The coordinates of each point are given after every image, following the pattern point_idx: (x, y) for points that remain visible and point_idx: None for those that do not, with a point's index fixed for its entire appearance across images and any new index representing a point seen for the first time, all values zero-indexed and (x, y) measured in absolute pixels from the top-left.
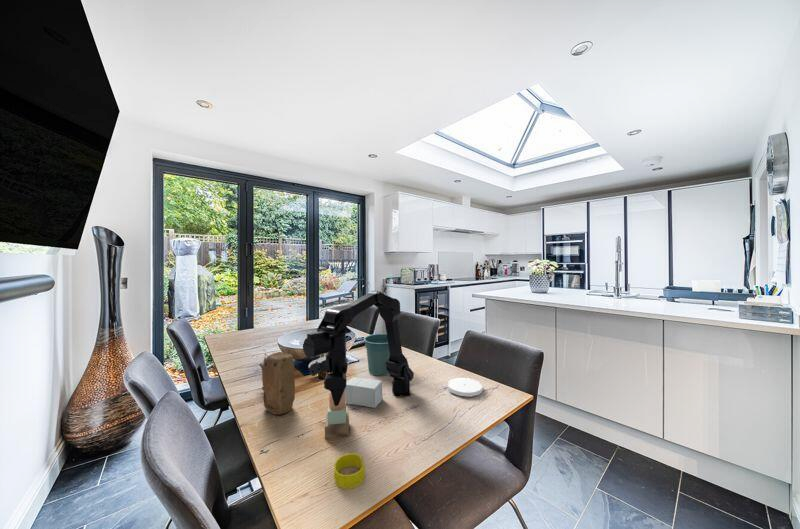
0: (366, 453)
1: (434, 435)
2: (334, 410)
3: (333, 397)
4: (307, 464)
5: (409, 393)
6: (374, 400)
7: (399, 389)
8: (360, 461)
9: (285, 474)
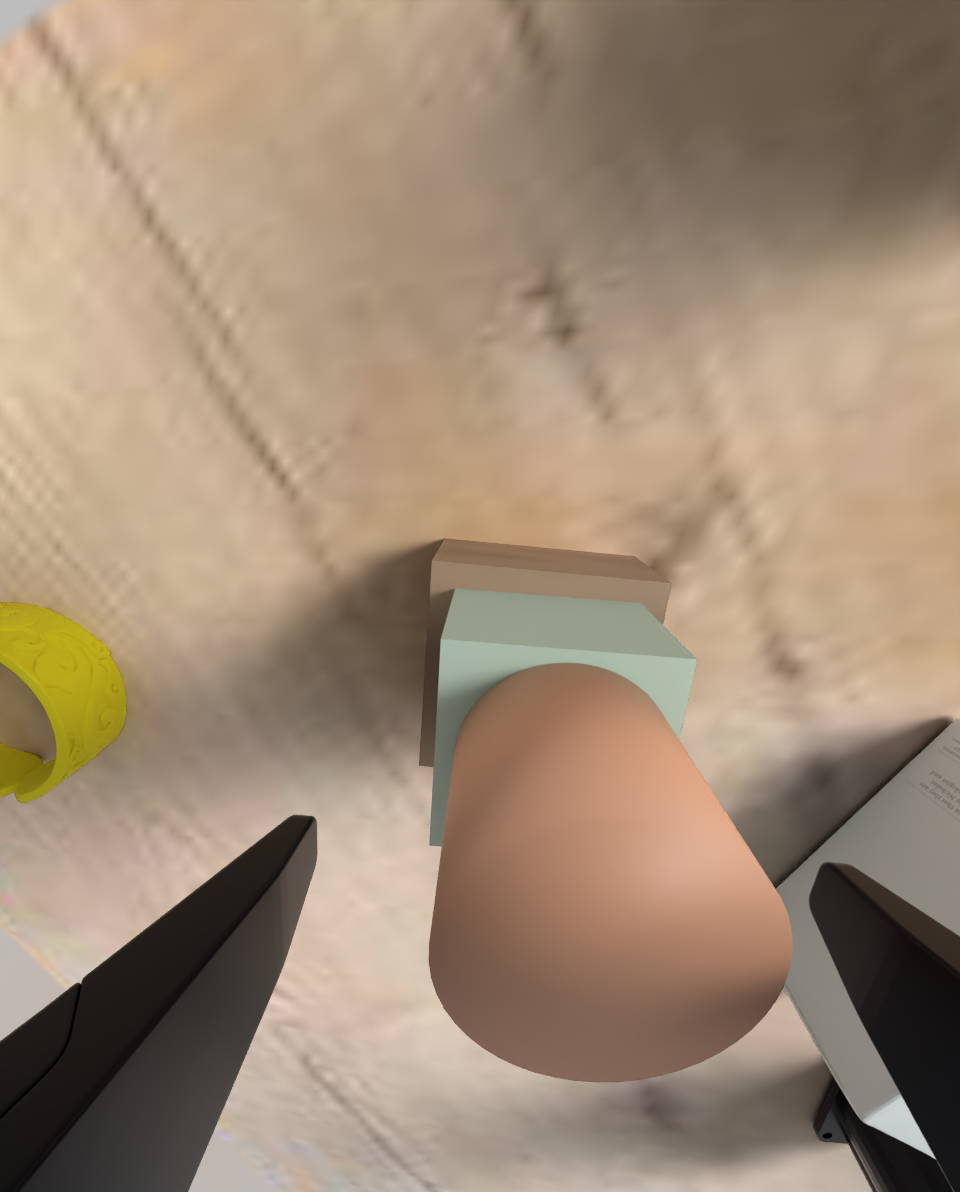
0: (228, 793)
1: (336, 1107)
2: (455, 725)
3: (109, 979)
4: (147, 413)
5: (833, 1137)
6: None
7: (885, 1141)
8: (40, 780)
9: (41, 238)
